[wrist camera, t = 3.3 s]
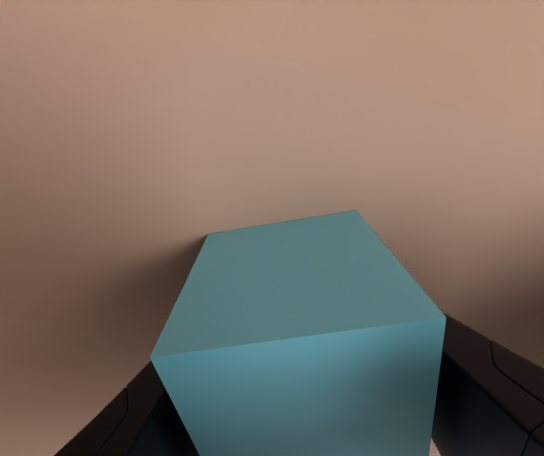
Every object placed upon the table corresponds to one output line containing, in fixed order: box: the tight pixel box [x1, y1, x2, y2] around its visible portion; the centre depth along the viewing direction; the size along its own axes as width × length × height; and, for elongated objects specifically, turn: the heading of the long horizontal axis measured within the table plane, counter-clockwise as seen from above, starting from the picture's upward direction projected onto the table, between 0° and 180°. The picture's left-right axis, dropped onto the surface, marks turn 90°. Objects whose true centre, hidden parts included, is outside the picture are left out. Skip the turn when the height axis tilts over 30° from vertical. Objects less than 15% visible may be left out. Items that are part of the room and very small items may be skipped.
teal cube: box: [150, 210, 446, 456], centre depth 8 cm, size 5×5×5 cm
